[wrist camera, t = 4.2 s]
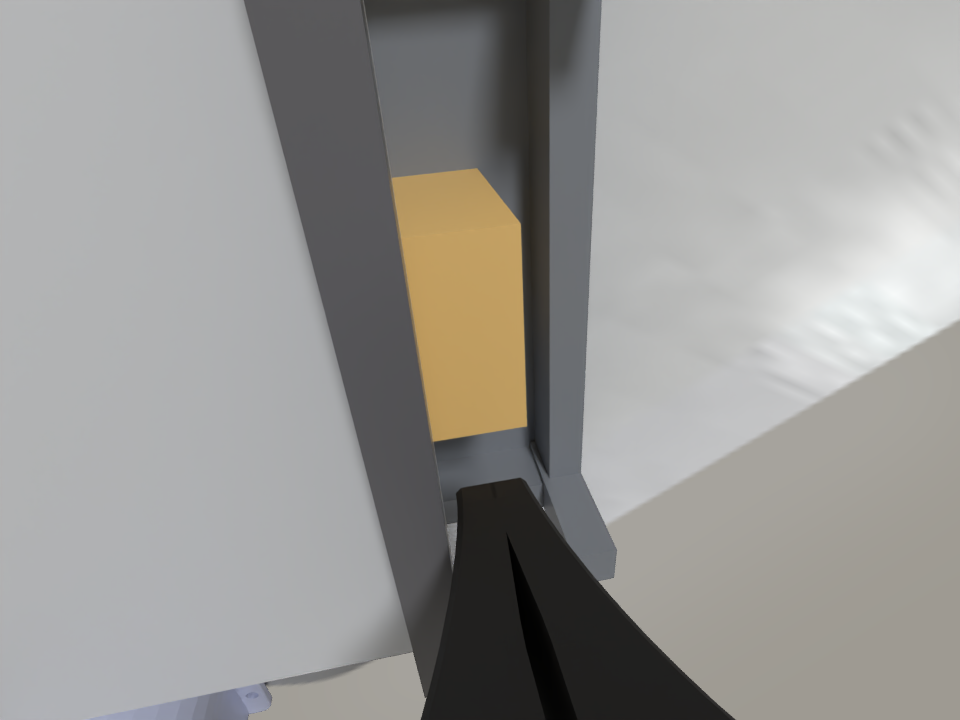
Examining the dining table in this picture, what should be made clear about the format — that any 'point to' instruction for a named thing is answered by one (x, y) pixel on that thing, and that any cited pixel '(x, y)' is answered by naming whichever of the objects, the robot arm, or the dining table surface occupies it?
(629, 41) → the dining table surface
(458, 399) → the block
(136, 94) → the lid
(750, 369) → the dining table surface
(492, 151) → the case
